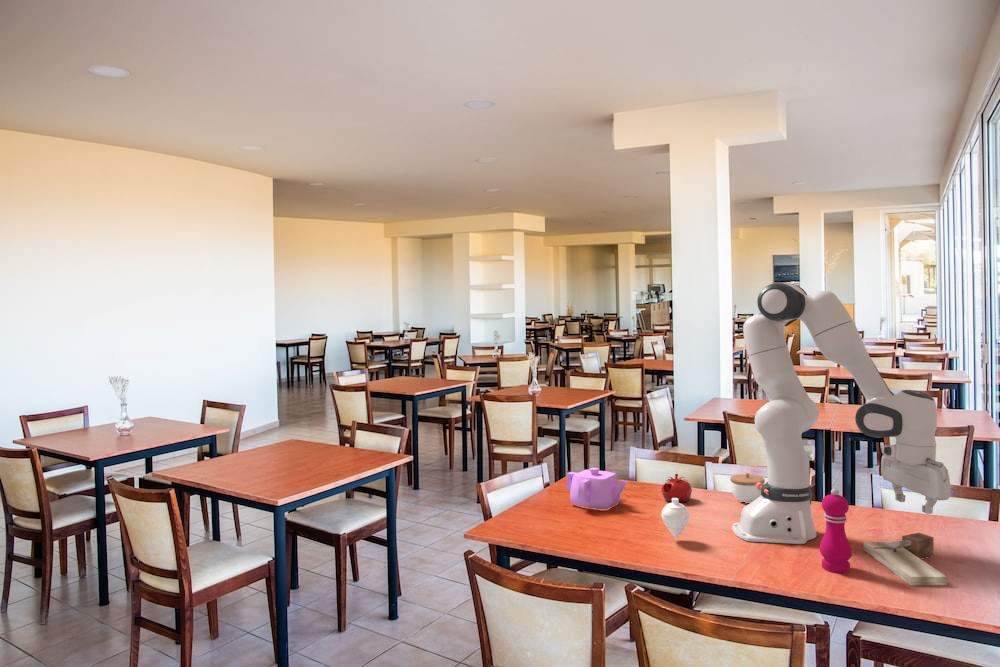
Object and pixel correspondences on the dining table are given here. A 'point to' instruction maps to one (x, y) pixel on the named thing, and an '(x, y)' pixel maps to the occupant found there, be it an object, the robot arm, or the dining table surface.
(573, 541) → the dining table surface
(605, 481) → the teakettle
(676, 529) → the spinning top
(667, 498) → the pomegranate
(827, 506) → the pepper mill
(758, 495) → the lidded jar
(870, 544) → the plank
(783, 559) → the dining table surface
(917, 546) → the gauge
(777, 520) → the robot arm
